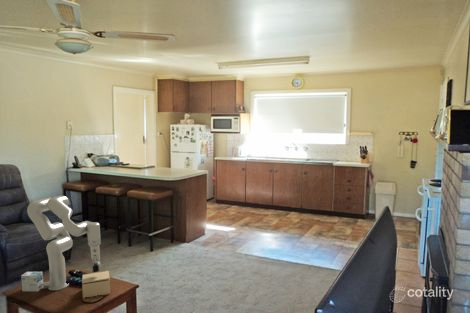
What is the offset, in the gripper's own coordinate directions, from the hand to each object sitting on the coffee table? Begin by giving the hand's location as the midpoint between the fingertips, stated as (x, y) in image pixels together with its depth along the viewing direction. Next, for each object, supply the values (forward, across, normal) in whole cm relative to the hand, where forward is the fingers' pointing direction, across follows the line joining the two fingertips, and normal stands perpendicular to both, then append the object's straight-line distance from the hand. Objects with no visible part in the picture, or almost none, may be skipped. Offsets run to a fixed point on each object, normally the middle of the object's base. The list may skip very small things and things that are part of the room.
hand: (95, 269), depth 230 cm
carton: (+15, 0, 0) cm, 15 cm away
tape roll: (+1, 0, 0) cm, 1 cm away
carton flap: (+5, 0, 0) cm, 5 cm away
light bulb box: (+14, +20, +39) cm, 46 cm away
